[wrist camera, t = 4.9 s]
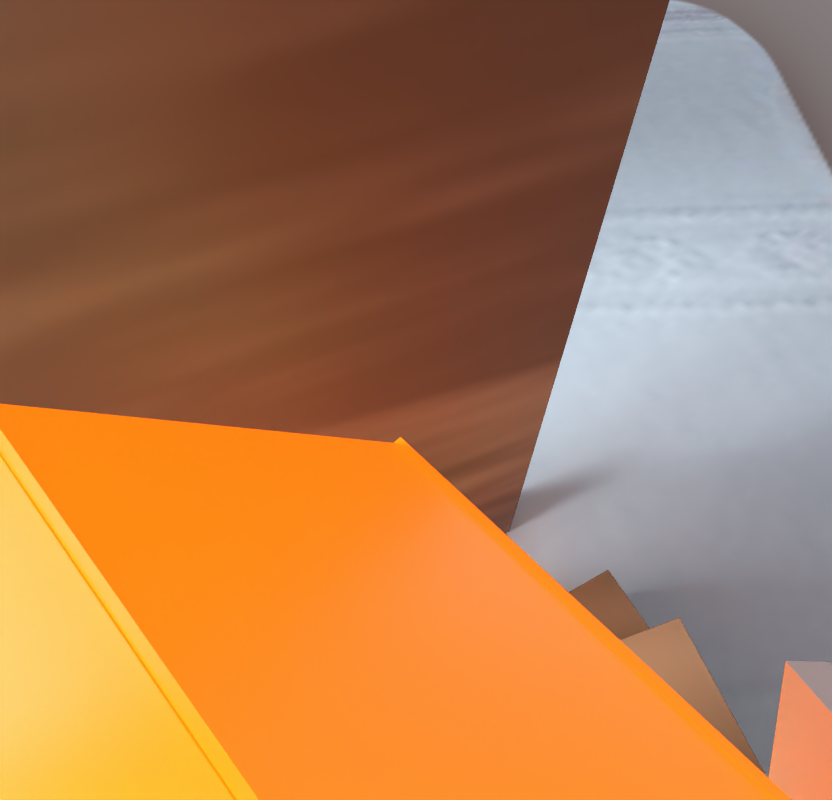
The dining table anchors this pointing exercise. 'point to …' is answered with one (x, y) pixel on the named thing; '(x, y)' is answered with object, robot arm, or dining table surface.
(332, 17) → the walnut rack
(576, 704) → the orange juice
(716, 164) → the dining table surface
